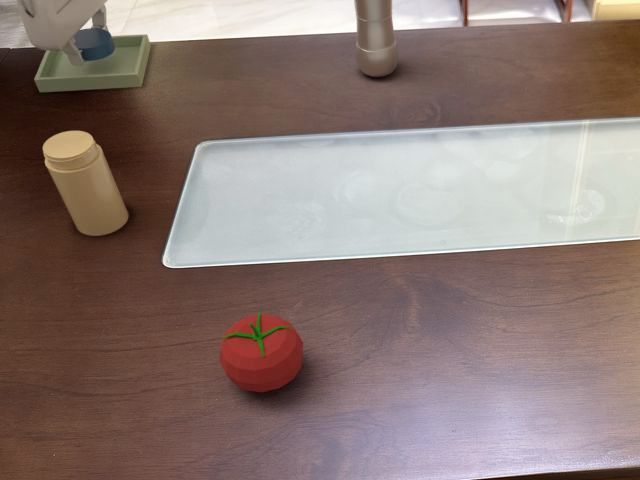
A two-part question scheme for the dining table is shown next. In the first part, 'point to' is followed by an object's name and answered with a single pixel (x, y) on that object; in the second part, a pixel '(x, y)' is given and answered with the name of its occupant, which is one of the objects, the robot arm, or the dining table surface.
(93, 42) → the jar lid
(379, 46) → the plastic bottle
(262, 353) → the tomato
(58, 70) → the tray
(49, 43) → the robot arm
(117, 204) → the jam jar
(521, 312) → the dining table surface
